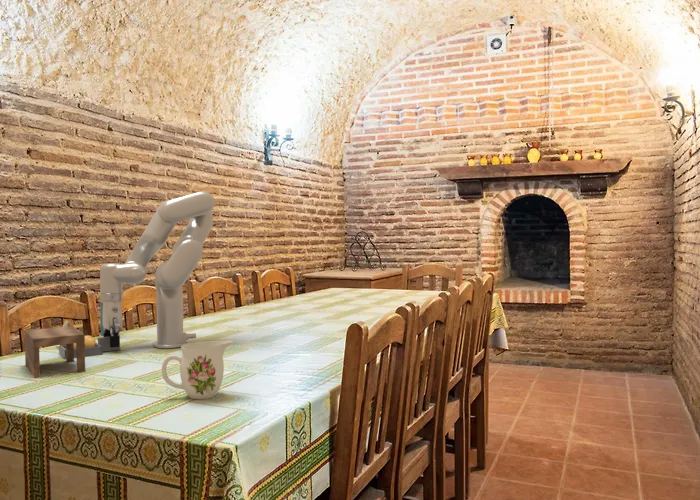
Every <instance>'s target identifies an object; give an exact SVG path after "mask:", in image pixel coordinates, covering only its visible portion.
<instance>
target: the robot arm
mask: <svg viewBox="0 0 700 500" xmlns="http://www.w3.org/2000/svg"><path fill="white" fill-rule="evenodd" d="M157 207H158V208H157V209H156V211H154V214H153V216H152V217H151V219H150V221H149V222H148V224H147V226H146V227H145V229H144V231H143V232H142V235H141V236H140V237H139V239H138V241H137V243H136V244H135V246H134V247H133V249H132V250H131V252H130V254H129V255H128V257H127V258H126V260H125V261H124V264H120V263H110V262H109V263H103V264H101V266H100V267H99V271H100V272H99V273H100V274H99V276H100V277H99V282H100V283H99V286H100V287H99V291H100V293H99V295H100V296H99V300H100V301H99V302H103V327H104V336H103V337H109V336H110V347H111V348H113V347H120V348H121V344H120V343H121V341H120V340H121V333H120V331H121V330H122V329H123V311H122V302H123V298H124V295H123V292H124V291H123V289H124V288H123V287H124V286H123V285H124V284H133V285H134V284H136V285H137V284H140V283H141V282H142V281H144V280H145V278H146V275H147V273H146V272H147V271H146V269H147V266H148V265H149V263H150V261H151V259H153V257H155V255H156V253H157V252H158V251H160V250H161V249H162V248H163V246H164V245H165V244H166V242H167V240H168V238H169V237H170V235H171V233H172V231H173V230H174V228H175V226H176V225H177V223H179V222H182V221H183V222H184V221H187V220H189V221H188V224H187V225H186V227H185V229H183V232H182V233H181V234H180V237H179V238H178V239H177V240H176V241H175V243H174V244H173V248H172V254H171V256H170V257H169V259H168V260H167V261H164V262H162V263H161V264H159V265H158V266H157V268H156V269H155V274H154V282H155V290H156V291H155V293H156V341H154V342H152V347H153V348H156V349H157V348H158V349H174V348H175V349H177V348H181V346H182V345H184V344H188V343H189V341H188V340H189V339H197V333H186V332H184V296H183V295H184V294H183V293H184V292H183V286H184V284H186V282H187V281H188V280H189V277H190V276H191V274H193V271H194V270H195V269H196V266H197V265H198V264H199V262H200V260H201V258H202V256H203V254H204V249H203V248H204V247H203V245H204V243H205V241H206V239H207V237H208V236H209V234H210V233H211V231H212V228H213V222H214V215H213V210H214V207H215V198H214V196H213V195H212V194H211V193H210V192H207V191H204V190H203V191H202V190H201V191H197V192H193V193H191V194H187V195H184V196H181V197H176V198H172V199H168V200H165V201H162V202H161V204H160V205H159V206H157Z"/></svg>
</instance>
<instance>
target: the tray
mask: <svg viewBox="0 0 700 500" xmlns="http://www.w3.org/2000/svg"><path fill="white" fill-rule="evenodd" d="M117 350H119V351H120V350H121V346H120V347H113V348H111V347H110V336H109V337H104V336H101V337H100V336H99V337H97V342H96V337H93V335H85V358H86V357H87V358H88V357H95V356H96V357H97V356H102V355H103V354H104V353H103V352H110V351H117ZM58 353H59V355H60V356H61V357H62V358H63V359H64V360H66V345H61V346H60V345H58ZM74 359H77V350H76V343H74Z"/></svg>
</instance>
